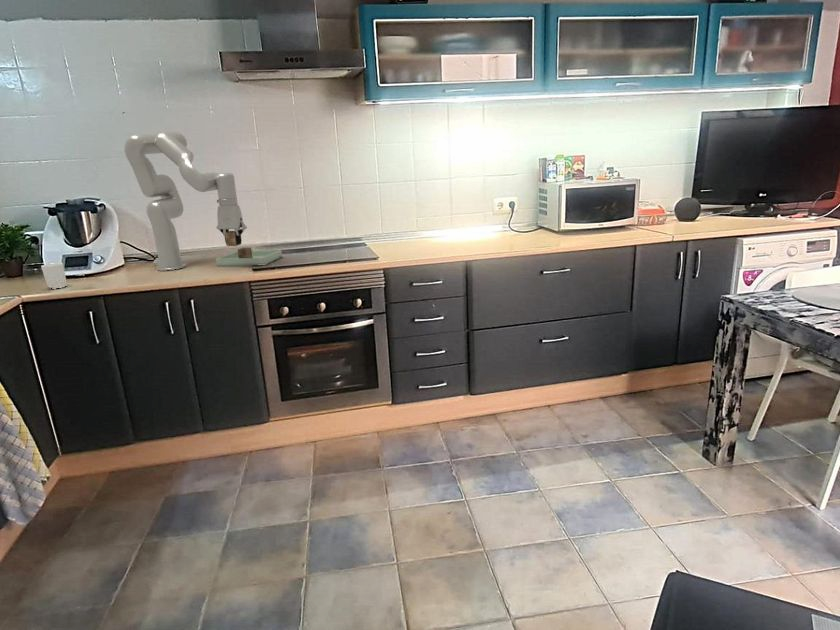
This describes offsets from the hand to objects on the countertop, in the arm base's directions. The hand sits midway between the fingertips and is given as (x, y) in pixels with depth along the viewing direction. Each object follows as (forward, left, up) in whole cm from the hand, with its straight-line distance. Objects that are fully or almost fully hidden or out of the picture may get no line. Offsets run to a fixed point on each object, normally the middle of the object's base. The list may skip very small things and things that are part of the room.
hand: (233, 243), depth 254 cm
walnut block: (-1, +10, -10) cm, 15 cm away
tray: (-1, +13, -11) cm, 18 cm away
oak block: (0, 0, -1) cm, 1 cm away
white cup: (-65, -34, -11) cm, 74 cm away
